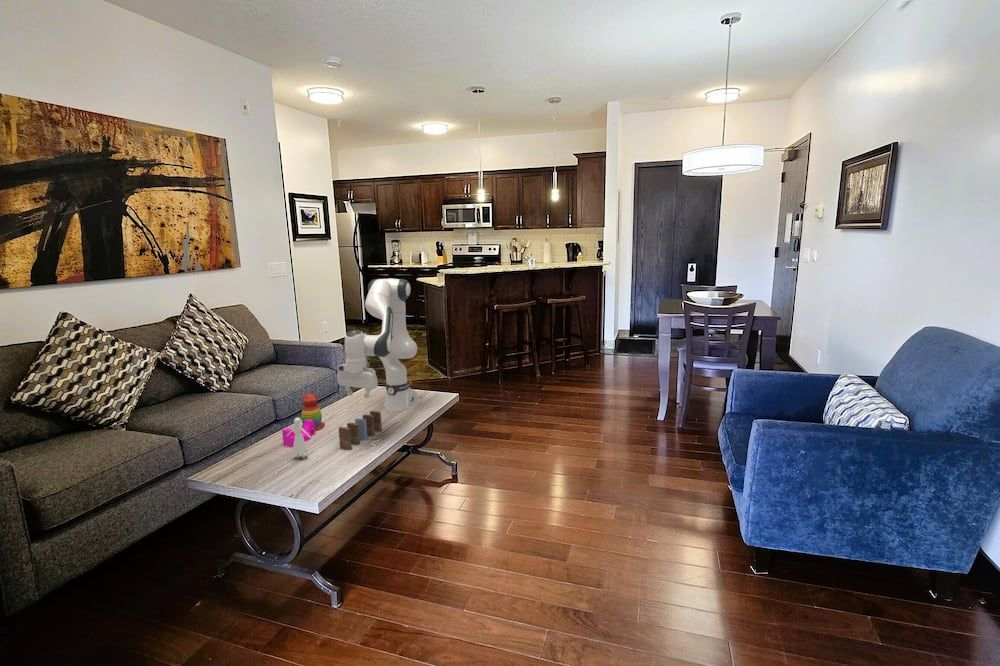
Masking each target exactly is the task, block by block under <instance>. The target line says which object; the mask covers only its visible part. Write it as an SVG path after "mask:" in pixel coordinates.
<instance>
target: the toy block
mask: <svg viewBox="0 0 1000 666" xmlns="http://www.w3.org/2000/svg"><path fill="white" fill-rule="evenodd" d="M292 429H293V428H287V427H286V428H284V429H282V430H281V434H282V435H281V436H282V442H283V443H282V444H283V446H286V447H291V448H293V445H294V439H295V435H296V433H295V432H294V430H293V431H292V432H291V433H290V434H289V432H290V431H291V430H292ZM303 429H304V430H305V431H306V433H307V434H308V435H309V436H311V438H310V437H309V436H308V435H307V434H306V433H304V432H303V431H302V430H301V433H302V435H303V438H304V441H305V443H306V442H307V441H310V440H312V436H314V435H316V431H315V427H314V420H310V419H307V420H305V423H304V427H303ZM288 434H289V435H288ZM287 435H288V436H287ZM286 436H287V437H286Z"/></svg>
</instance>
